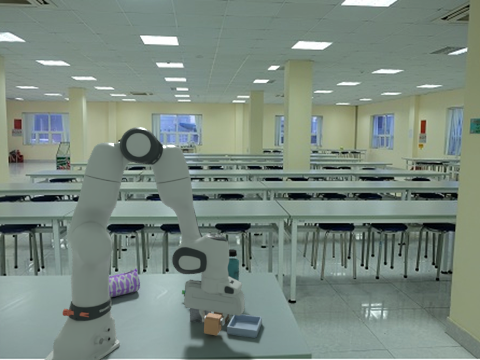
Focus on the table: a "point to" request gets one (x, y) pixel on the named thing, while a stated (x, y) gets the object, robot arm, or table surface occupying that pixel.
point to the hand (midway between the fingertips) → (213, 323)
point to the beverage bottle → (233, 265)
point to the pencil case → (124, 283)
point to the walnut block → (223, 316)
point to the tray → (244, 325)
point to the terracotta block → (212, 324)
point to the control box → (197, 315)
